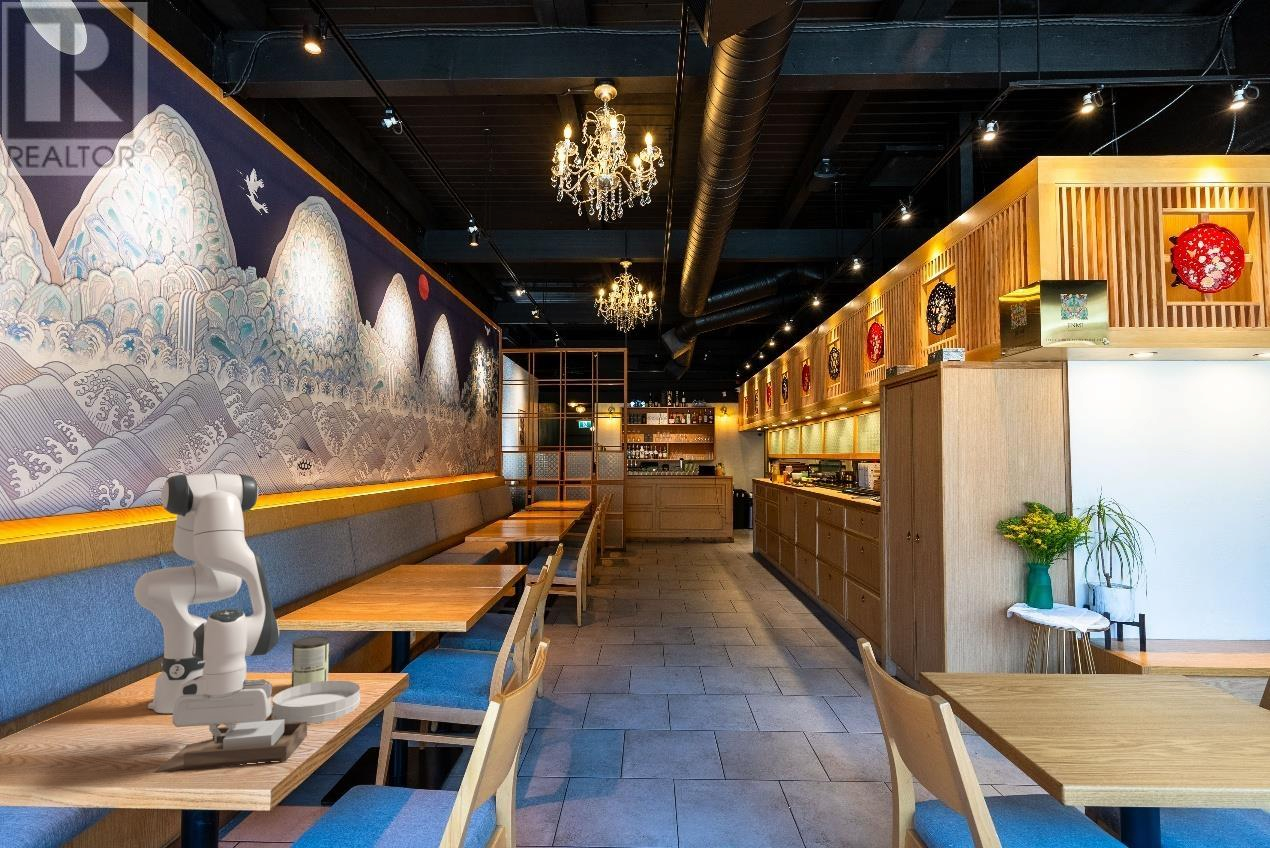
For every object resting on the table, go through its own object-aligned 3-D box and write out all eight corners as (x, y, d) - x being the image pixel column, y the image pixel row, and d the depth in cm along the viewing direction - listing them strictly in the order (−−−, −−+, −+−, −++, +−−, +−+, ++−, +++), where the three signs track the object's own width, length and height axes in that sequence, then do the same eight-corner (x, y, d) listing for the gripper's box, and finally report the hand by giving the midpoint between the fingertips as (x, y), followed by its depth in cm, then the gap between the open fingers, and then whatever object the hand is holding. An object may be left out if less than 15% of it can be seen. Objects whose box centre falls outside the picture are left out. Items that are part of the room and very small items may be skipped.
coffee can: (285, 688, 201) (286, 640, 202) (318, 679, 209) (320, 634, 210) (300, 695, 194) (301, 646, 195) (334, 686, 202) (335, 639, 203)
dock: (186, 747, 159) (187, 729, 159) (306, 738, 164) (307, 721, 164) (153, 775, 144) (154, 755, 145) (285, 764, 149) (286, 745, 149)
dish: (376, 699, 191) (376, 682, 191) (327, 729, 169) (328, 709, 169) (307, 696, 194) (307, 678, 195) (251, 724, 173) (252, 704, 173)
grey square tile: (238, 740, 159) (239, 723, 159) (284, 736, 161) (284, 719, 162) (222, 757, 149) (223, 739, 150) (270, 752, 152) (271, 735, 152)
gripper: (276, 674, 160) (275, 733, 159) (183, 680, 156) (181, 740, 155) (267, 683, 153) (265, 744, 152) (170, 688, 150) (167, 751, 149)
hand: (222, 742), depth 154 cm, fingers closed
